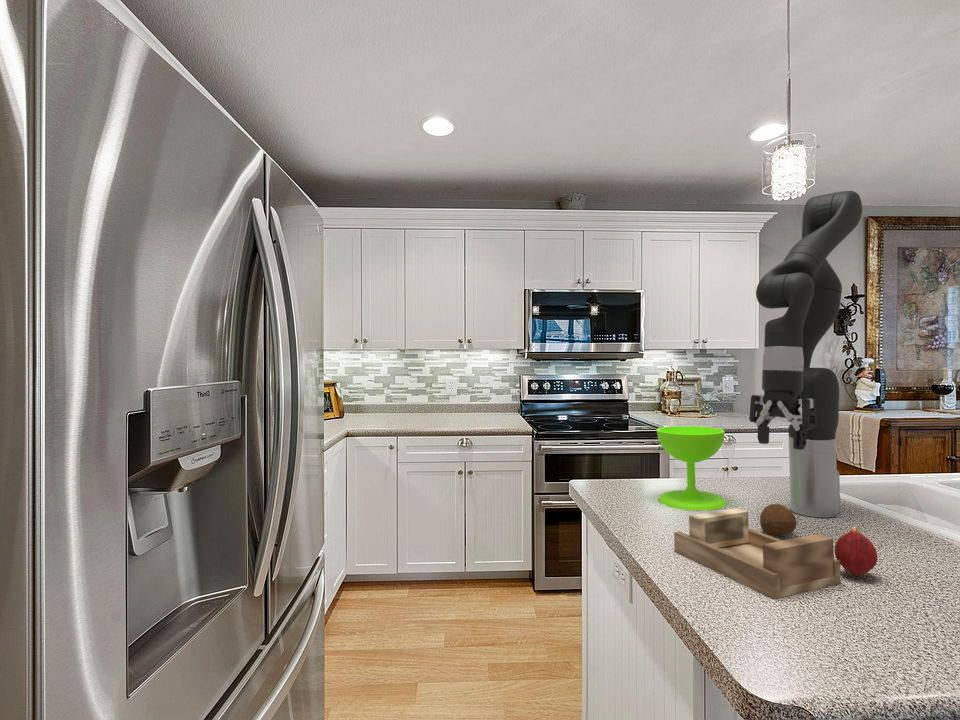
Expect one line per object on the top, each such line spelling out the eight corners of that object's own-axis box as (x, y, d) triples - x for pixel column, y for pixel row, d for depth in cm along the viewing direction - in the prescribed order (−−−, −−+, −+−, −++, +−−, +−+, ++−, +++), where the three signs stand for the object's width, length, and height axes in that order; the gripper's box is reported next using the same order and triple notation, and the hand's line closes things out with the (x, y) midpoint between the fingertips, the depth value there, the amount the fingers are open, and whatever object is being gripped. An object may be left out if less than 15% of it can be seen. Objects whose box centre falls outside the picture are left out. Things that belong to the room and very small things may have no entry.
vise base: (732, 540, 106) (731, 504, 106) (840, 583, 85) (839, 538, 85) (674, 551, 101) (673, 513, 101) (774, 598, 81) (772, 551, 81)
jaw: (738, 538, 103) (737, 508, 103) (749, 542, 101) (748, 511, 101) (689, 546, 99) (688, 515, 99) (699, 551, 97) (698, 519, 97)
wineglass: (697, 514, 124) (695, 436, 124) (644, 499, 138) (642, 429, 138) (740, 503, 132) (738, 430, 132) (686, 490, 146) (684, 424, 146)
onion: (885, 584, 84) (884, 533, 84) (844, 582, 86) (843, 532, 86) (866, 570, 90) (865, 522, 90) (829, 568, 91) (827, 521, 91)
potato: (793, 529, 112) (792, 499, 112) (800, 544, 103) (800, 512, 103) (758, 526, 115) (757, 497, 115) (762, 541, 106) (761, 509, 106)
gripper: (827, 370, 107) (825, 451, 107) (767, 369, 120) (765, 441, 120) (799, 368, 104) (797, 451, 104) (741, 368, 118) (739, 441, 118)
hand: (780, 446), depth 112 cm, fingers open, 8 cm apart
